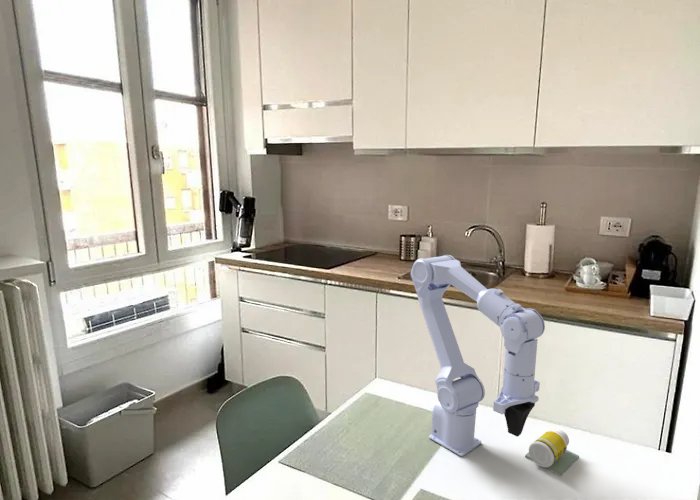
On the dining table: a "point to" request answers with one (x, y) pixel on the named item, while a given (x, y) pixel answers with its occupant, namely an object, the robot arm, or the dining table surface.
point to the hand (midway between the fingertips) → (514, 433)
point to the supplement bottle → (549, 447)
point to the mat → (561, 462)
